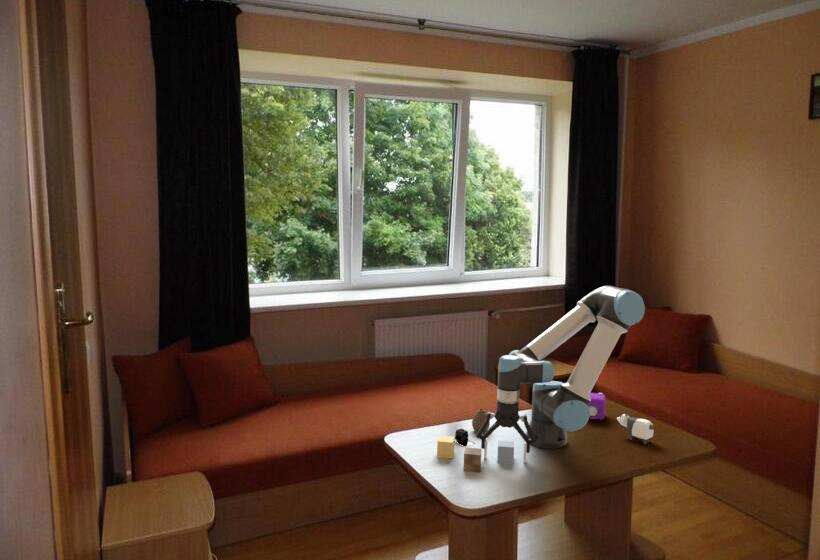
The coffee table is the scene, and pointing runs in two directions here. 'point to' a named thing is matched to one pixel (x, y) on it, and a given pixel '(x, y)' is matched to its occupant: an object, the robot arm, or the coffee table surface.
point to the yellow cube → (445, 446)
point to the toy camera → (597, 406)
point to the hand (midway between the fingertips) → (504, 459)
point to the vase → (479, 420)
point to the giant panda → (637, 427)
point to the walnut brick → (472, 459)
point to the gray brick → (505, 452)
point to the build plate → (462, 437)
